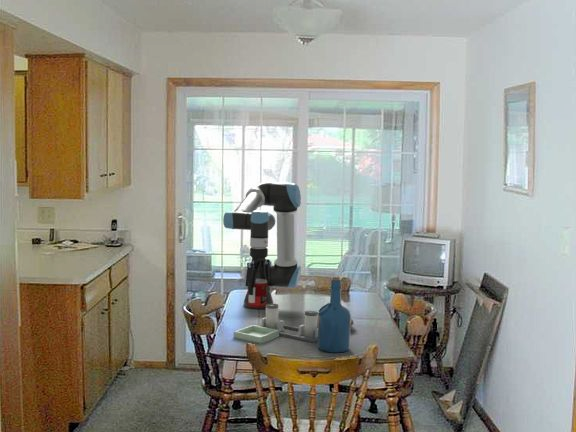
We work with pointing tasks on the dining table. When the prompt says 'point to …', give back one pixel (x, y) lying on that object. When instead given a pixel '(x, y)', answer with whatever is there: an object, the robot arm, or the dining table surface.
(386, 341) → the dining table surface
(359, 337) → the dining table surface
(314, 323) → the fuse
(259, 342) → the tray
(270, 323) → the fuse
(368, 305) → the dining table surface
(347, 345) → the wine bottle
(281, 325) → the fuse block
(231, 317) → the dining table surface
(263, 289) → the canned food
